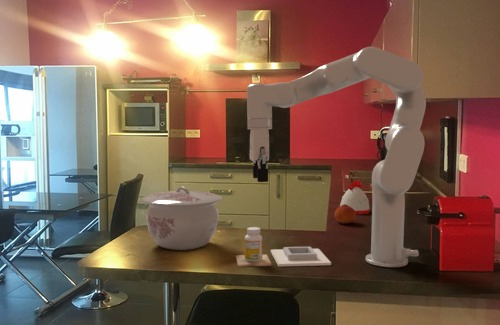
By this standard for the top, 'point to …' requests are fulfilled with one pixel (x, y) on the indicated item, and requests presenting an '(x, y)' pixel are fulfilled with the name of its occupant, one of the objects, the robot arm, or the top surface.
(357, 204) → the white knit beanie
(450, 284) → the top surface
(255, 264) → the cork trivet
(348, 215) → the fruit
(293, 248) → the socket block
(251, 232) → the supplement bottle
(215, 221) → the chamber pot
